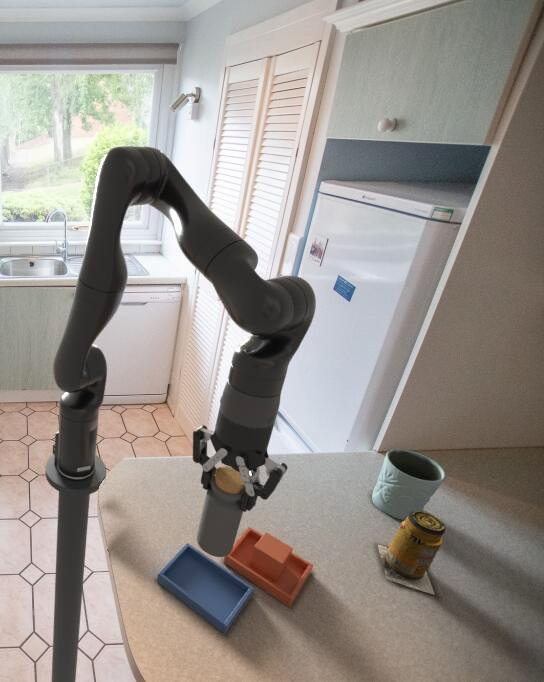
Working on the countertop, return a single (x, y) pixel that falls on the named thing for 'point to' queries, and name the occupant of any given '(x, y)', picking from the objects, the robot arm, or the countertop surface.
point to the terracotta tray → (280, 589)
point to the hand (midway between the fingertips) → (225, 497)
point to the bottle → (221, 512)
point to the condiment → (413, 550)
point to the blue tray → (205, 587)
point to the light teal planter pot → (406, 483)
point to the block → (270, 556)
